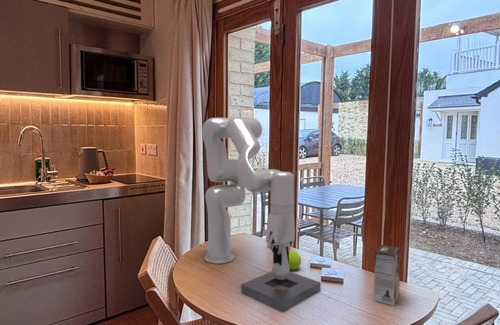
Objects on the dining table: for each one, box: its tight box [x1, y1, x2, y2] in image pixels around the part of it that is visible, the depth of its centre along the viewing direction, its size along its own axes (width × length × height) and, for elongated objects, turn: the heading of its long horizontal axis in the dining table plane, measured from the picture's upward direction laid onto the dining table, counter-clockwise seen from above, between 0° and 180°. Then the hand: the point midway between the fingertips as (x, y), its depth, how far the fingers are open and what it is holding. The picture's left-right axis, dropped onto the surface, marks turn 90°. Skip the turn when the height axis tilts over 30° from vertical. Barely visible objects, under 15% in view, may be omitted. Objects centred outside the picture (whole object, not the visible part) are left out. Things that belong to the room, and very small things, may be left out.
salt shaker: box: [271, 242, 291, 280], centre depth 115 cm, size 6×6×13 cm
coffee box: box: [373, 244, 402, 306], centre depth 111 cm, size 9×6×16 cm
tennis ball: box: [289, 250, 302, 271], centre depth 136 cm, size 7×7×7 cm
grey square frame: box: [240, 270, 322, 313], centre depth 115 cm, size 18×20×3 cm
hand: (281, 262), depth 115 cm, fingers closed on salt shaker, 3 cm apart
